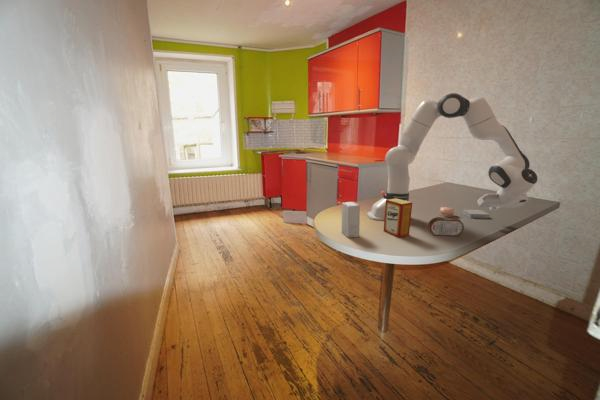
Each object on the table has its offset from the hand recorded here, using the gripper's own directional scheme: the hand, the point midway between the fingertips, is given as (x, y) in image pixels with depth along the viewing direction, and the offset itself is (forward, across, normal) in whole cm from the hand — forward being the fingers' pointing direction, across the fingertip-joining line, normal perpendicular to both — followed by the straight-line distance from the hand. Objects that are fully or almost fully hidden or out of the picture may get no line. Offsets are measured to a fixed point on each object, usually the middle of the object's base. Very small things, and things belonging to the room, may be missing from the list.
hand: (492, 208), depth 147 cm
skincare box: (-10, -76, -20) cm, 80 cm away
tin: (-9, -32, -19) cm, 39 cm away
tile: (+10, -1, +1) cm, 10 cm away
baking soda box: (-8, -54, -18) cm, 58 cm away
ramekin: (+14, -17, +4) cm, 23 cm away
